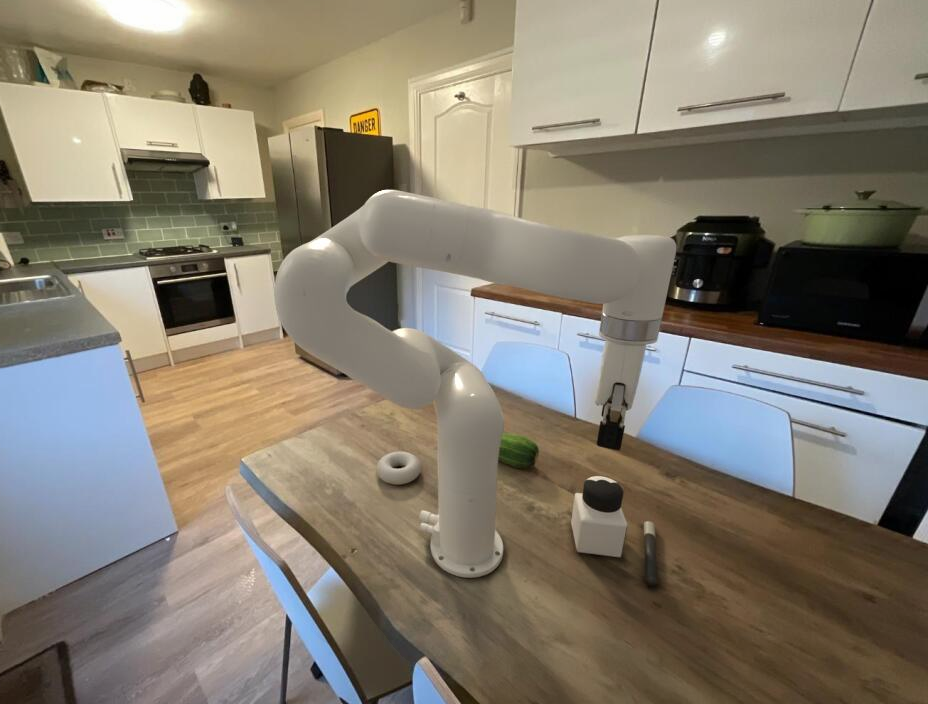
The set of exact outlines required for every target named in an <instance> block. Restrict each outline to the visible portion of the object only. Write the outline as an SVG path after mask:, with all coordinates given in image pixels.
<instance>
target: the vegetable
mask: <svg viewBox="0 0 928 704" xmlns="http://www.w3.org/2000/svg"><path fill="white" fill-rule="evenodd" d="M539 453H540V450H539V446H538V445H537V443H536V442H535V441H534V440H532V439H530V438H528V437H526V436H524V435H519V434H512V433H506V432H503V436H502V440H501V445H500V450H499V458H498V462H501V463H503V464H505V465H508V466H509V467H513V468H517V469H522V470H524V469H527V470H528V469H530V468H533V467H534V466H535V465H536V463H537V460H538V458H539V456H540V455H539Z"/></svg>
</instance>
